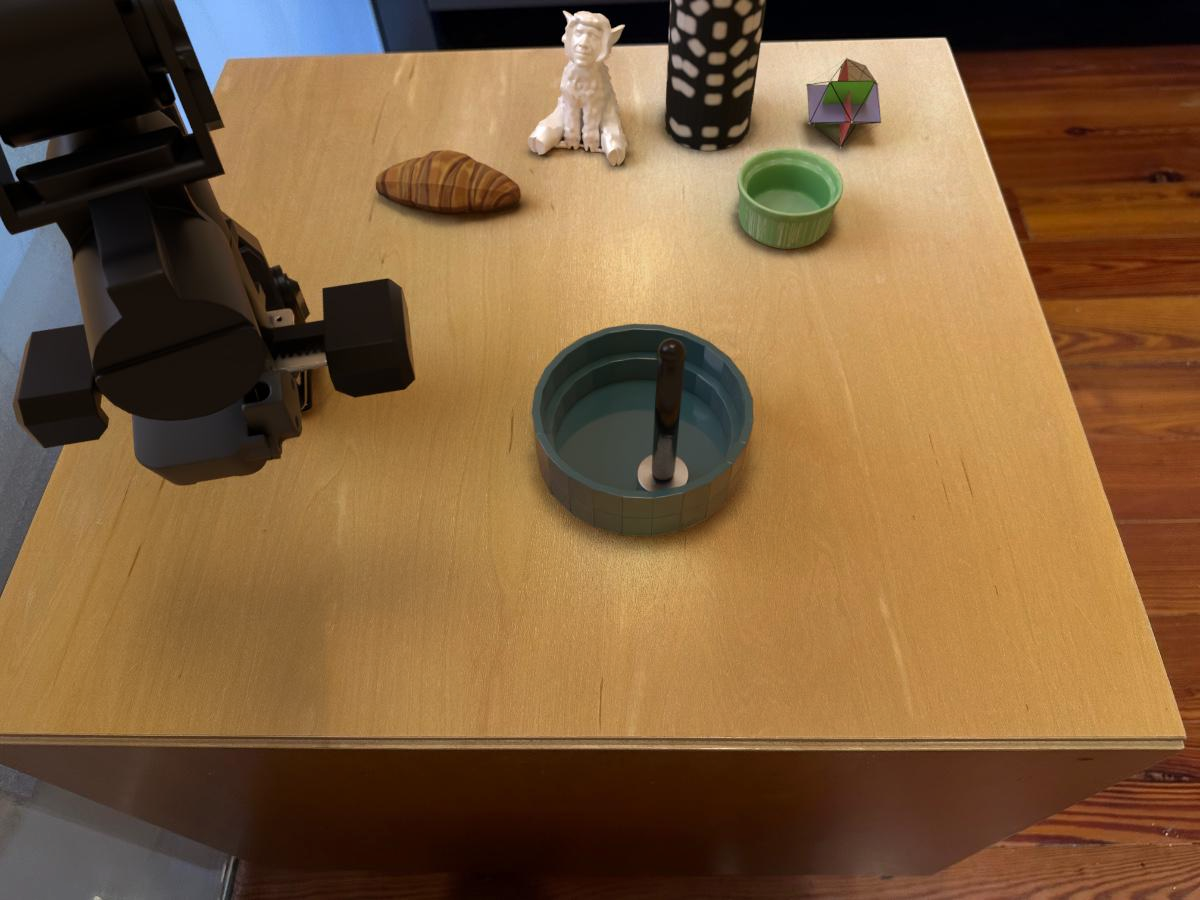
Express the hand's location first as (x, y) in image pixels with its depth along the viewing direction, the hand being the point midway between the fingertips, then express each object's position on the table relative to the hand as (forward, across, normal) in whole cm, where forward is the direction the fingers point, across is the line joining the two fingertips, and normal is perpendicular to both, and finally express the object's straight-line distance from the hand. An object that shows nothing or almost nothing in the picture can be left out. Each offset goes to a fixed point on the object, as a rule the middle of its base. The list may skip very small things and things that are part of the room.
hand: (274, 453), depth 53 cm
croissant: (+12, +12, +35) cm, 39 cm away
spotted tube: (+12, +38, +41) cm, 57 cm away
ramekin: (+12, +41, +26) cm, 50 cm away
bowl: (+12, +23, +4) cm, 26 cm away
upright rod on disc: (+11, +24, 0) cm, 26 cm away
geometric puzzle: (+12, +50, +37) cm, 63 cm away
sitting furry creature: (+12, +26, +42) cm, 51 cm away
